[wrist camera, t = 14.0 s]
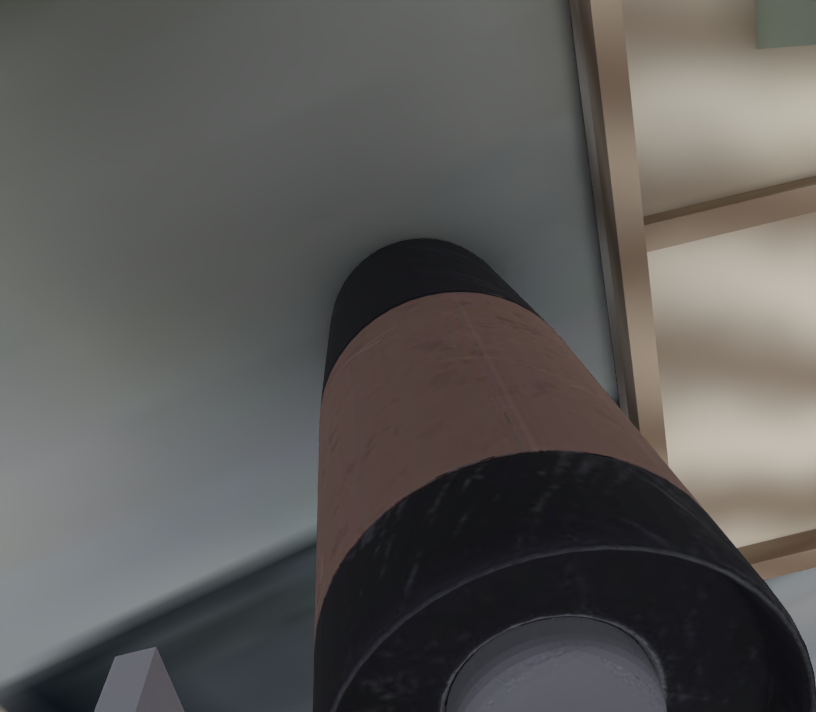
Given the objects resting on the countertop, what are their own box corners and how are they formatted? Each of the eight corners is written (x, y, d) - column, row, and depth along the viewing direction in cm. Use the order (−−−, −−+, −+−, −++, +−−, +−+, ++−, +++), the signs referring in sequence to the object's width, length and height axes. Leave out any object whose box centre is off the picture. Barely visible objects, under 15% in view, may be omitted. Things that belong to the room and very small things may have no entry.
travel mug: (465, 193, 28) (738, 433, 9) (545, 360, 30) (884, 812, 12) (287, 289, 28) (194, 698, 10) (381, 443, 31) (451, 998, 12)
